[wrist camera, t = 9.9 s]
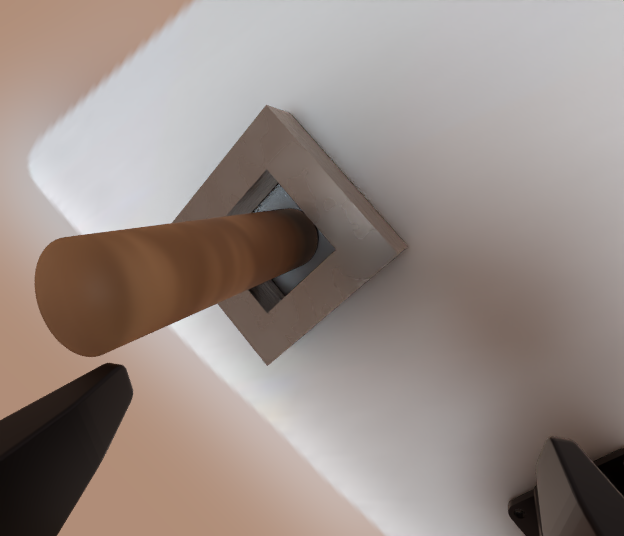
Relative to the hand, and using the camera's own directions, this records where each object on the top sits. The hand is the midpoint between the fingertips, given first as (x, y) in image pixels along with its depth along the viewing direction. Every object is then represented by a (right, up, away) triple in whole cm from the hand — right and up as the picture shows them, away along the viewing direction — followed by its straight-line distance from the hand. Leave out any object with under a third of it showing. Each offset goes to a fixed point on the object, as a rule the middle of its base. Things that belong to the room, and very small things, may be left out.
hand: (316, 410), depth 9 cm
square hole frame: (-1, +5, +14) cm, 15 cm away
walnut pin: (-1, +5, +14) cm, 15 cm away
